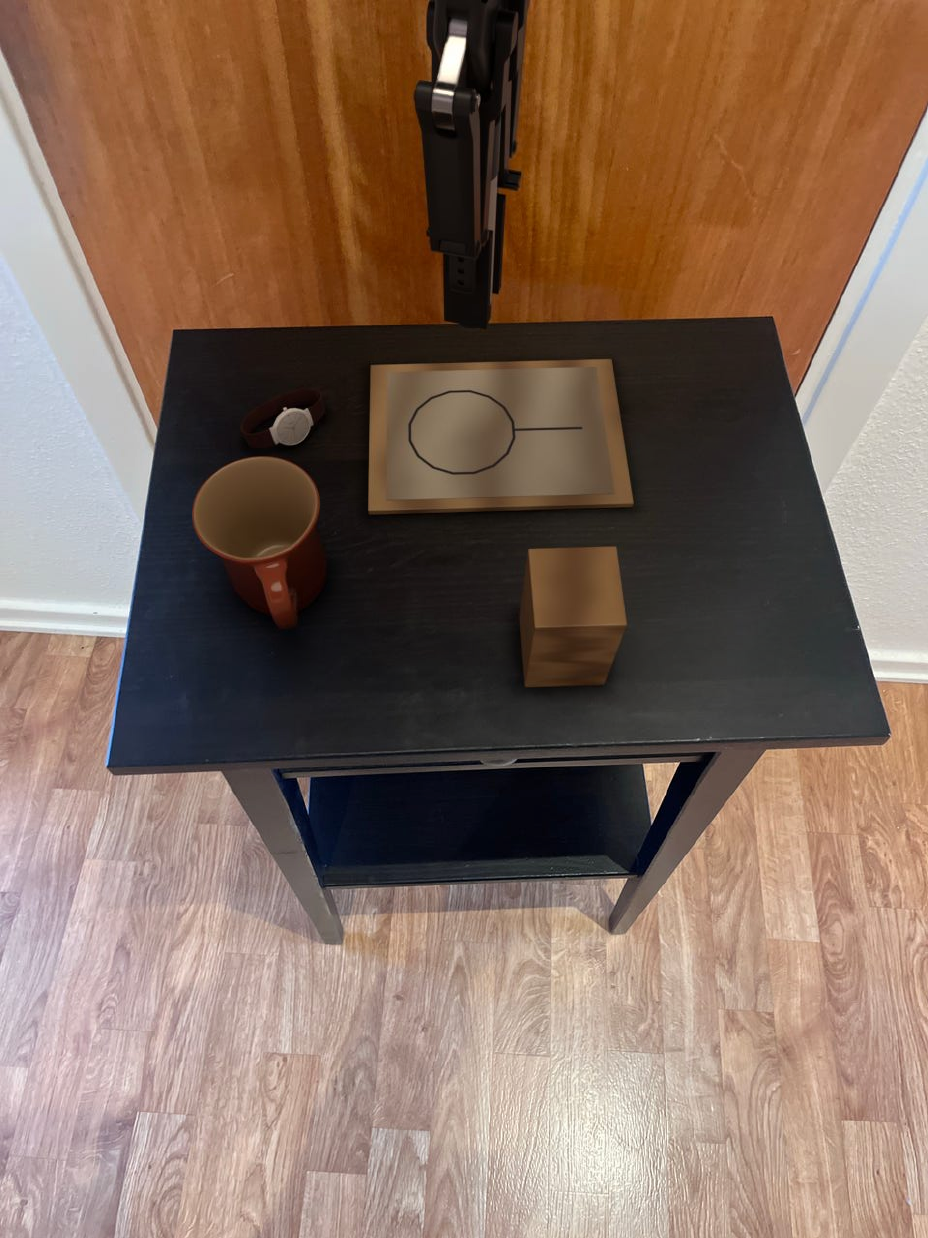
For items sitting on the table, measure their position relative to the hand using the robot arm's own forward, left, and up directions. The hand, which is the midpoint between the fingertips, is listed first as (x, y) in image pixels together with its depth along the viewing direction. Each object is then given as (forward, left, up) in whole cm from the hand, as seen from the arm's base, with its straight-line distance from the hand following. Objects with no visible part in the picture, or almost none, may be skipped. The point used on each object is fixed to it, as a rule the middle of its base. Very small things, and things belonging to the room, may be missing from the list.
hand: (472, 302), depth 54 cm
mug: (+11, +13, -21) cm, 27 cm away
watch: (+17, -3, -21) cm, 27 cm away
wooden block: (-10, +12, -21) cm, 26 cm away
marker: (0, 0, -1) cm, 1 cm away
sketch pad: (-1, -7, -21) cm, 22 cm away
